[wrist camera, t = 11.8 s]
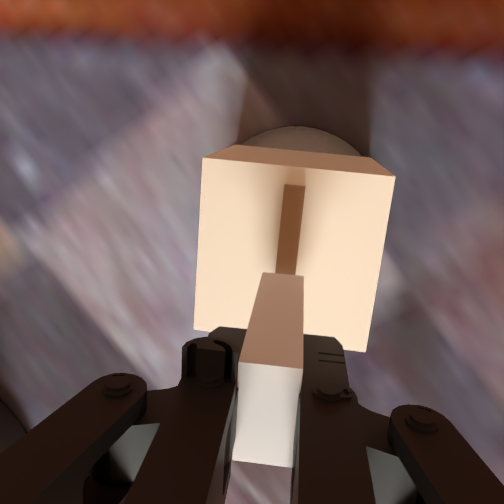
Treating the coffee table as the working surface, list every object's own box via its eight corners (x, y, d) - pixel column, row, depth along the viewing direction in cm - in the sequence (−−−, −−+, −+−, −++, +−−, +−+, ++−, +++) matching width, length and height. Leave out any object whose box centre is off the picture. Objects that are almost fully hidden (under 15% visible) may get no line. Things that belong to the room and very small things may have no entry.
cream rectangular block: (225, 271, 28) (190, 335, 20) (234, 144, 26) (199, 159, 18) (351, 286, 28) (367, 359, 20) (370, 157, 26) (398, 178, 17)
